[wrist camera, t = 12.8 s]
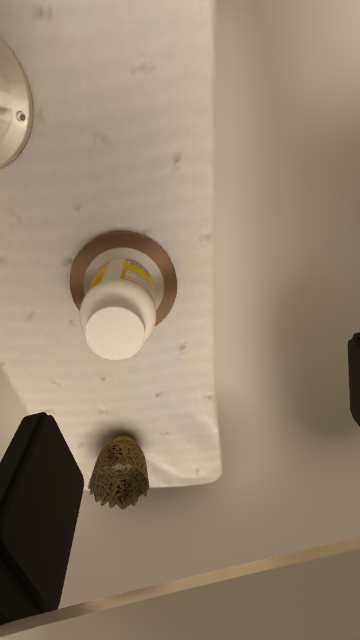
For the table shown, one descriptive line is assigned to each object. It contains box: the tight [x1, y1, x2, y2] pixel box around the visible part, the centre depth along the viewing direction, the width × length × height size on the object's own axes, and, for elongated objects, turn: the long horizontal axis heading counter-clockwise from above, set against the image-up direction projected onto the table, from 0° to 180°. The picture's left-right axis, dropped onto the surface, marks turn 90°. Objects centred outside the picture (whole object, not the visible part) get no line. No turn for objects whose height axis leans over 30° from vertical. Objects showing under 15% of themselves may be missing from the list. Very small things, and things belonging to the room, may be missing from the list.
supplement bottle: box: [80, 258, 156, 360], centre depth 32 cm, size 7×7×13 cm
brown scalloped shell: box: [88, 434, 149, 509], centre depth 46 cm, size 8×7×8 cm
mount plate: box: [70, 231, 177, 326], centre depth 39 cm, size 12×12×2 cm
